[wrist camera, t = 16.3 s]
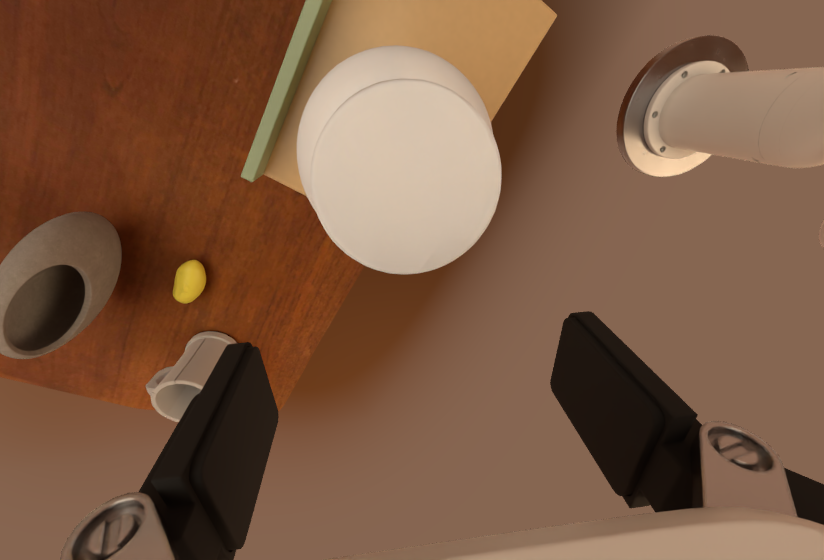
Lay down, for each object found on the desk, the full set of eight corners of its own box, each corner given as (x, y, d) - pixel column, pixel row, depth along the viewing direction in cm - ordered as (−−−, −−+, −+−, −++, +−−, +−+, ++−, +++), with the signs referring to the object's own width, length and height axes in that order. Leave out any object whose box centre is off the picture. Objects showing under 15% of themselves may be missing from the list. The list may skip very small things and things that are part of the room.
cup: (213, 380, 64) (182, 436, 54) (169, 352, 60) (127, 406, 50) (253, 351, 62) (229, 404, 52) (210, 320, 58) (176, 369, 48)
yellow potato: (173, 290, 55) (160, 303, 51) (188, 250, 52) (176, 261, 49) (200, 301, 56) (189, 314, 53) (217, 262, 53) (207, 274, 50)
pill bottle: (346, 38, 16) (311, -53, 6) (466, 99, 18) (594, 106, 8) (309, 170, 19) (241, 261, 9) (417, 212, 21) (465, 327, 10)
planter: (132, 308, 56) (33, 399, 39) (80, 294, 53) (-47, 383, 37) (148, 206, 48) (36, 263, 32) (89, 185, 46) (-63, 235, 30)
